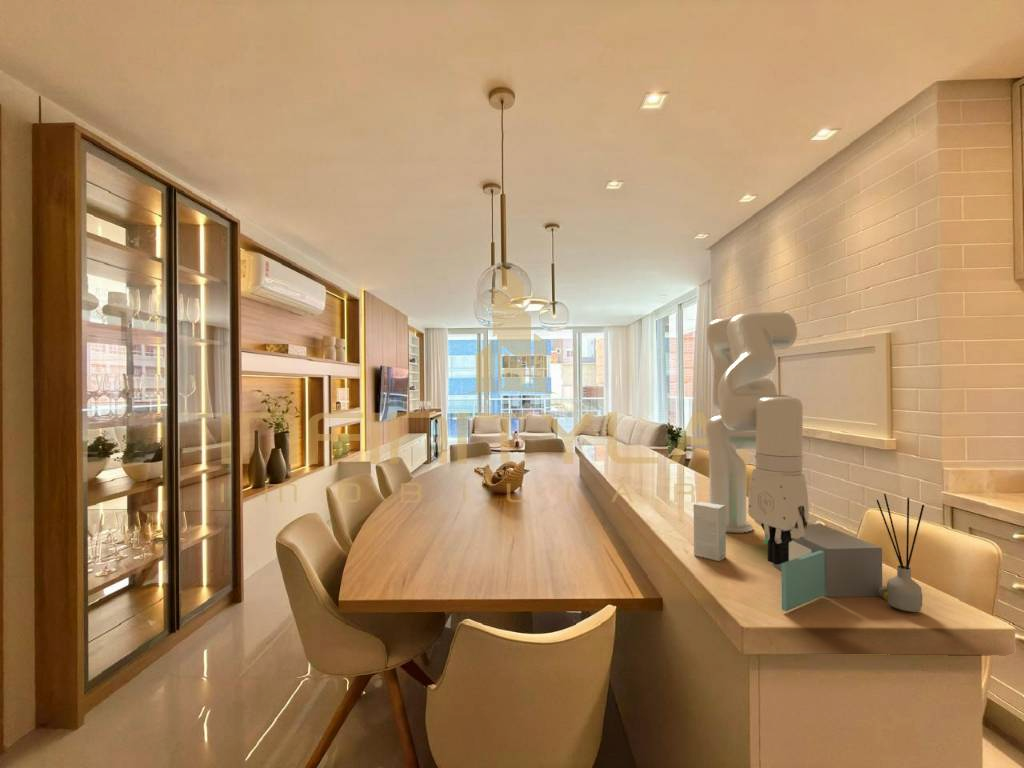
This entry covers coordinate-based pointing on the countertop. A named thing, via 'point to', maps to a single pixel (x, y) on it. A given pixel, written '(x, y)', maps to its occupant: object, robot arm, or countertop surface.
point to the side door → (802, 580)
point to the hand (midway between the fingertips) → (778, 562)
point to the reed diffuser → (902, 574)
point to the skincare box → (709, 531)
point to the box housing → (842, 561)
